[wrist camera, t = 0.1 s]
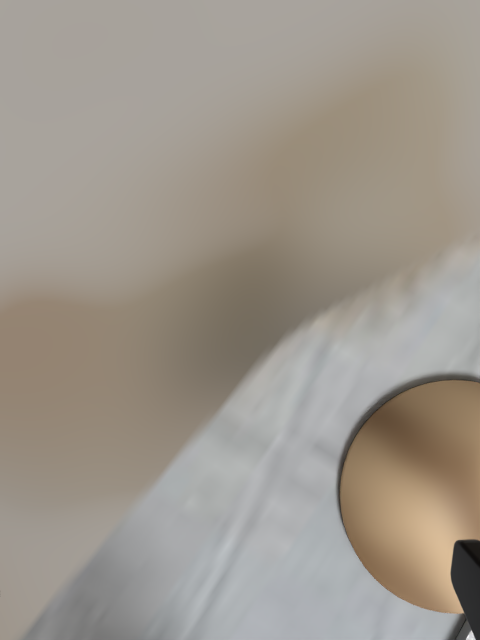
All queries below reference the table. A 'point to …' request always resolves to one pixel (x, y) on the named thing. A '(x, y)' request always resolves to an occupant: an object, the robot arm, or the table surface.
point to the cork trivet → (415, 490)
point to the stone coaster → (465, 632)
